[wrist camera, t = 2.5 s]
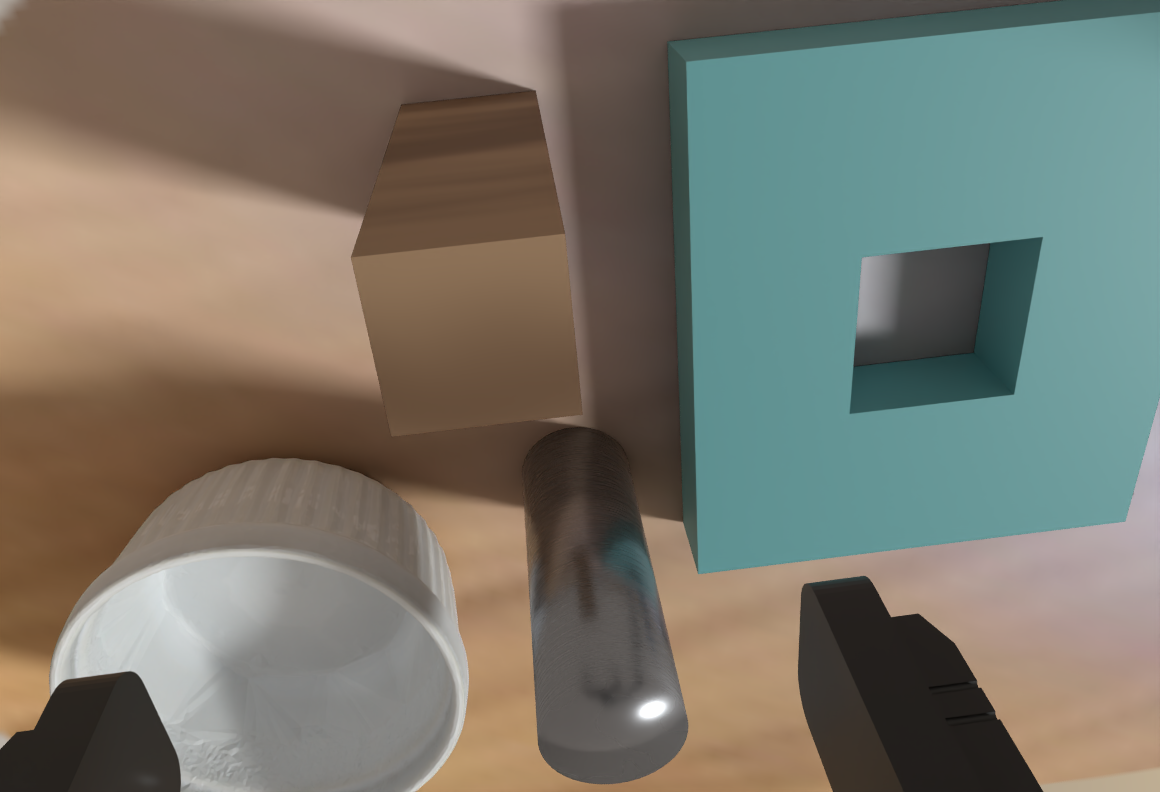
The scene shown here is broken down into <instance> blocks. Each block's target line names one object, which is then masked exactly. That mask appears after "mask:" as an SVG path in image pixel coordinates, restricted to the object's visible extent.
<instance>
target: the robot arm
mask: <svg viewBox="0 0 1160 792" xmlns="http://www.w3.org/2000/svg"><path fill="white" fill-rule="evenodd" d="M798 680H799V689H800V695H801V701H802V705H803V709H804V713H805V717H806V720H807V723H808V726H809V729H810V731H811V734H812V737H813V740H814V742H815V745H816V748H817V750H818V753H819V756H820V758H821V761H822V764H823V766H824V769H825V772H826V774H827V777H828V780H829V782H830V785H831V788H832V790H833V792H1043V791H1042V789H1041V787H1040V785H1039V784H1038V782H1037V780H1036V779H1035V777H1034V775H1033V774H1032V772H1031V770H1030V769H1029V767H1028V765H1027V764H1026V762H1025V760H1024V759H1023V757H1022V755H1021V754H1020V752H1019V750H1018V749H1017V747H1016V745H1015V743H1014V742H1013V740H1012V738H1011V737H1010V735H1009V733H1008V732H1007V730H1006V728H1005V727H1004V725H1003V723H1002V722H1001V720H1000V719H999V720H998V719H997V718H996V715H995V710H994V708H993V707H992V705H991V703H990V702H989V700H988V698H987V697H986V695H985V693H984V692H983V690H982V688H978V685H977V680H976V678H975V677H974V675H973V673H972V671H971V670H970V668H969V666H968V665H967V663H966V661H965V660H964V658H963V656H962V655H961V653H960V651H959V650H958V648H957V646H956V645H955V643H954V642H952V641H951V640H950V639H949V638H948V637H946V636H945V635H944V634H943V633H941V632H940V631H939V630H938V629H937V628H935V627H934V626H933V625H932V624H930V623H929V622H928V621H927V620H926V619H924V618H923V617H922V616H921V615H919V614H912V615H905V616H897V617H890V615H889V613H888V611H887V609H886V607H885V605H884V603H883V602H882V600H881V598H880V596H879V594H878V592H877V590H876V588H875V587H874V585H873V583H872V582H871V581H870V579H869V578H867V577H866V576H860V577H852V578H845V579H837V580H830V581H822V582H815V583H807V584H804V586H803V588H802V592H801V611H800V635H799V659H798ZM180 791H181V772H180V764H179V759H178V756H177V753H176V751H175V748H174V746H173V744H172V742H171V740H170V738H169V736H168V734H167V731H166V729H165V727H164V725H163V723H162V721H161V719H160V717H159V715H158V712H157V710H156V708H155V706H154V704H153V702H152V700H151V698H150V696H149V693H148V691H147V689H146V687H145V685H144V683H143V681H142V679H141V678H140V677H139V675H138V674H136V673H135V672H132V671H127V672H119V673H112V674H104V675H97V676H89V677H82V678H74V679H67V680H65V681H63V682H61V683H60V684H59V685H58V686H57V687H56V689H55V690H54V692H53V693H52V695H51V697H50V699H49V701H48V703H47V705H46V707H45V709H44V711H43V713H42V715H41V717H40V719H39V721H38V723H37V725H36V727H35V729H34V730H30V731H22V732H16V733H15V735H14V736H13V737H12V738H11V739H10V740H9V741H8V742H7V743H6V744H5V745H4V746H3V747H2V748H1V749H0V792H180Z"/></svg>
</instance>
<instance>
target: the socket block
mask: <svg viewBox="0 0 1160 792" xmlns="http://www.w3.org/2000/svg"><path fill="white" fill-rule="evenodd" d="M667 44H668V74H669V104H670V135H671V165H672V195H673V225H674V255H675V285H676V316H677V346H678V376H679V406H680V436H681V466H682V497H683V523H684V527H685V530H686V534H687V537H688V540H689V544H690V547H691V551H692V554H693V558H694V561H695V564H696V568H697V571H698V574H703V573H711V572H720V571H728V570H736V569H744V568H752V567H760V566H768V565H776V564H785V563H793V562H801V561H809V560H817V559H825V558H833V557H841V556H849V555H858V554H866V553H874V552H882V551H890V550H898V549H906V548H914V547H923V546H931V545H939V544H947V543H955V542H963V541H971V540H979V539H987V538H996V537H1004V536H1012V535H1020V534H1028V533H1036V532H1044V531H1052V530H1061V529H1069V528H1077V527H1085V526H1093V525H1101V524H1109V523H1117V522H1125V521H1126V517H1127V513H1128V510H1129V506H1130V502H1131V499H1132V495H1133V492H1134V488H1135V484H1136V481H1137V477H1138V474H1139V470H1140V466H1141V463H1142V459H1143V456H1144V452H1145V448H1146V445H1147V441H1148V438H1149V434H1150V430H1151V427H1152V423H1153V420H1154V416H1155V412H1156V409H1157V405H1158V401H1159V398H1160V0H1061V1H1051V2H1042V3H1032V4H1023V5H1013V6H1003V7H994V8H984V9H975V10H965V11H956V12H946V13H936V14H927V15H917V16H908V17H898V18H889V19H879V20H870V21H860V22H850V23H841V24H831V25H822V26H812V27H803V28H793V29H783V30H774V31H764V32H755V33H745V34H736V35H726V36H716V37H707V38H697V39H688V40H678V41H669V42H667ZM985 243H991V244H990V250H989V257H988V263H987V270H986V276H985V283H984V289H983V296H982V302H981V309H980V316H979V322H978V329H977V335H976V342H975V348H974V353H968V354H959V355H951V356H942V357H934V358H925V359H917V360H908V361H899V362H891V363H882V364H874V365H865V366H857V367H853V364H854V351H855V338H856V325H857V312H858V299H859V287H860V274H861V261H862V257H869V256H878V255H887V254H896V253H905V252H914V251H922V250H931V249H940V248H949V247H958V246H967V245H976V244H985Z"/></svg>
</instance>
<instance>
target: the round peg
mask: <svg viewBox="0 0 1160 792" xmlns="http://www.w3.org/2000/svg"><path fill="white" fill-rule="evenodd" d="M522 477H523V494H524V511H525V528H526V545H527V563H528V580H529V597H530V614H531V631H532V648H533V665H534V682H535V700H536V717H537V734H538V746H539V750H540V752H541V754H542V756H543V758H544V759H545V761H546V762H547V763H548V764H549V765H550V766H551V767H552V768H553V769H554V770H556V771H557V772H559V773H560V774H562V775H564V776H566V777H568V778H571V779H574V780H577V781H581V782H586V783H593V784H615V783H622V782H628V781H632V780H635V779H639V778H641V777H644V776H647V775H649V774H651V773H653V772H655V771H657V770H658V769H660V768H662V767H663V766H664V765H666V764H667V763H668V762H670V761H671V760H672V759H673V758H674V757H675V756H676V755H677V753H678V752H679V751H680V749H681V748H682V746H683V745H684V742H685V740H686V737H687V733H688V719H687V715H686V710H685V706H684V702H683V697H682V693H681V689H680V684H679V680H678V676H677V671H676V667H675V663H674V659H673V654H672V650H671V646H670V641H669V637H668V633H667V628H666V624H665V620H664V615H663V611H662V607H661V602H660V598H659V594H658V589H657V585H656V581H655V576H654V572H653V568H652V563H651V559H650V555H649V551H648V546H647V542H646V538H645V533H644V529H643V525H642V520H641V516H640V512H639V507H638V503H637V499H636V494H635V490H634V486H633V481H632V477H631V473H630V468H629V464H628V460H627V457H626V454H625V452H624V450H623V449H622V447H621V446H620V445H619V444H618V443H617V442H616V441H615V440H614V439H613V438H611V437H610V436H608V435H607V434H605V433H603V432H600V431H597V430H594V429H589V428H568V429H563V430H559V431H556V432H554V433H552V434H549V435H548V436H546V437H544V438H543V439H541V440H540V441H539V442H538V443H537V444H536V445H534V447H533V448H532V449H531V450H530V452H529V453H528V455H527V457H526V459H525V461H524V465H523V471H522Z"/></svg>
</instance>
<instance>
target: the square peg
mask: <svg viewBox="0 0 1160 792" xmlns="http://www.w3.org/2000/svg"><path fill="white" fill-rule="evenodd" d="M351 260H352V264H353V269H354V273H355V278H356V282H357V287H358V291H359V295H360V300H361V304H362V309H363V313H364V318H365V322H366V327H367V331H368V336H369V340H370V344H371V349H372V353H373V358H374V362H375V367H376V371H377V376H378V380H379V384H380V389H381V393H382V398H383V402H384V407H385V411H386V416H387V420H388V425H389V429H390V433H391V437H395V436H404V435H412V434H421V433H429V432H438V431H446V430H455V429H463V428H472V427H480V426H489V425H497V424H506V423H514V422H523V421H531V420H540V419H549V418H557V417H566V416H574V415H583V414H582V404H581V393H580V383H579V373H578V362H577V352H576V342H575V331H574V321H573V311H572V300H571V290H570V280H569V269H568V259H567V249H566V238H565V231H564V226H563V221H562V217H561V212H560V207H559V202H558V197H557V192H556V187H555V183H554V178H553V173H552V168H551V163H550V158H549V154H548V149H547V144H546V139H545V134H544V129H543V124H542V120H541V115H540V110H539V105H538V100H537V95H536V91H527V92H518V93H508V94H499V95H489V96H480V97H470V98H461V99H451V100H442V101H432V102H423V103H414V104H404V105H401V107H400V110H399V113H398V117H397V120H396V123H395V126H394V129H393V132H392V135H391V138H390V141H389V144H388V147H387V150H386V153H385V156H384V159H383V162H382V165H381V168H380V171H379V174H378V177H377V180H376V183H375V186H374V189H373V192H372V195H371V198H370V201H369V204H368V207H367V210H366V213H365V217H364V220H363V223H362V226H361V229H360V232H359V235H358V238H357V241H356V244H355V247H354V250H353V253H352V256H351Z"/></svg>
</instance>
